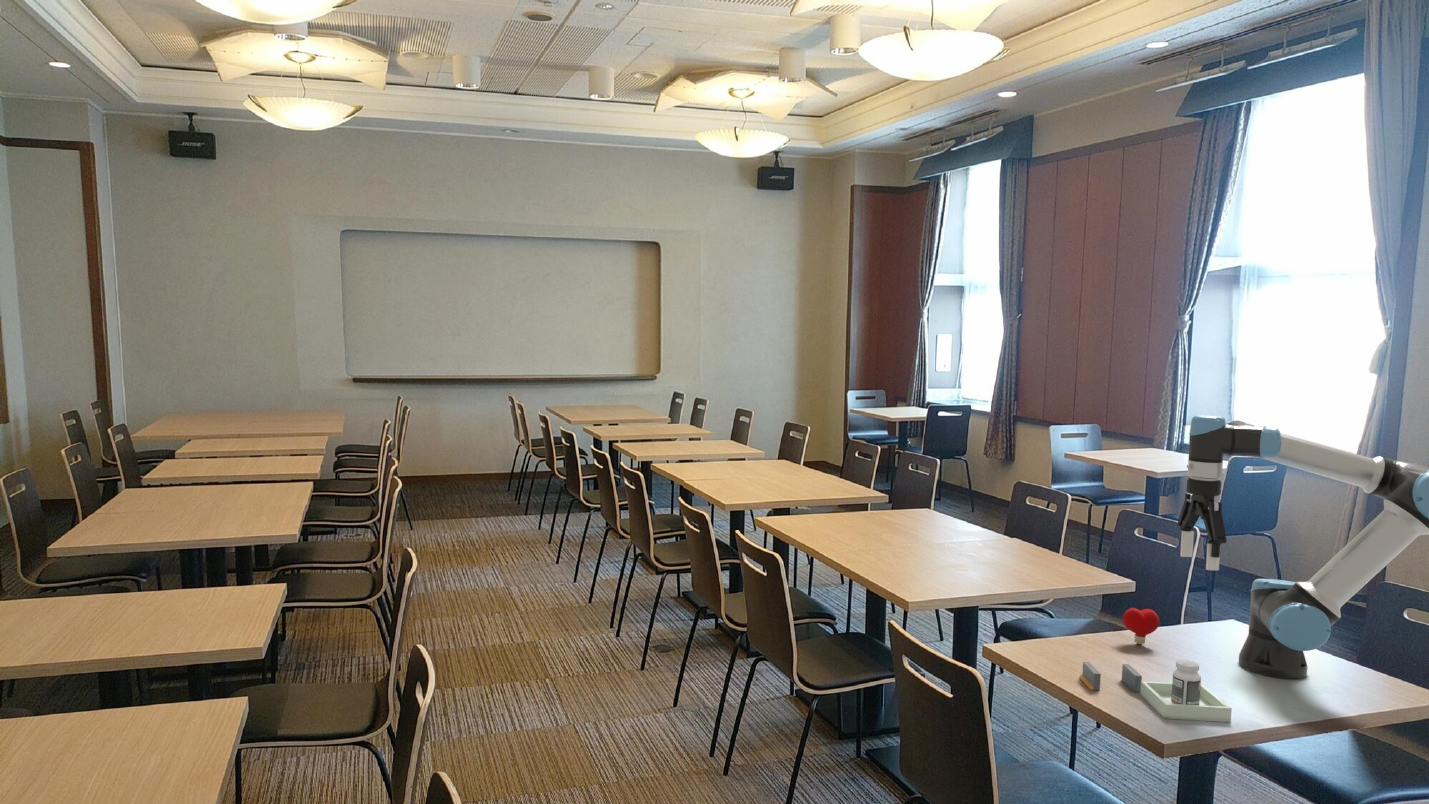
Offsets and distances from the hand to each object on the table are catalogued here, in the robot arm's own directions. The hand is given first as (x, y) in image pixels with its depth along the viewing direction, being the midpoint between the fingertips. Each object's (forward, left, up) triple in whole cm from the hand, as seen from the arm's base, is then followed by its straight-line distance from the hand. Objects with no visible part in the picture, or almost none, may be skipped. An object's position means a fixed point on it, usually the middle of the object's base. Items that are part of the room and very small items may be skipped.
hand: (1198, 563), depth 229 cm
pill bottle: (+11, +22, -28) cm, 37 cm away
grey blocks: (+23, +10, -29) cm, 38 cm away
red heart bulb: (+4, -22, -29) cm, 37 cm away
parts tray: (+11, +22, -29) cm, 37 cm away
